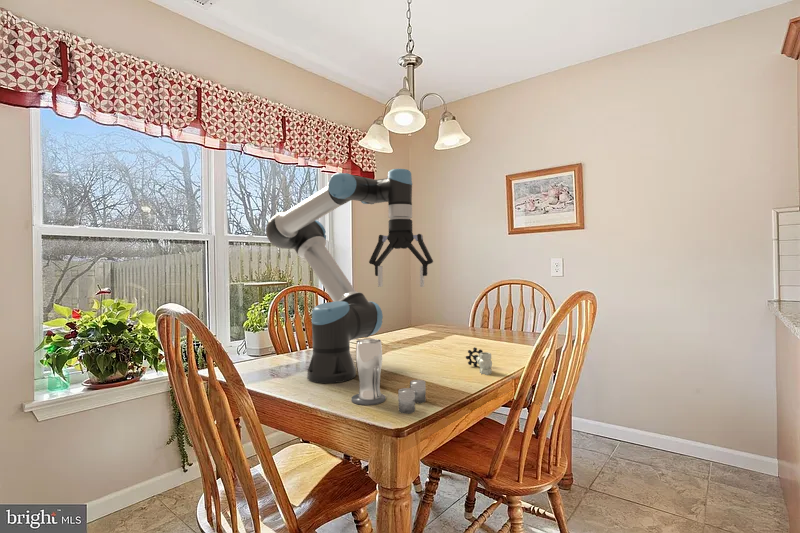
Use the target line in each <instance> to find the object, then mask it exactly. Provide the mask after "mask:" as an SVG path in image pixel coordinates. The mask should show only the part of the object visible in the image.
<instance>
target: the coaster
mask: <svg viewBox="0 0 800 533" xmlns="http://www.w3.org/2000/svg"><path fill="white" fill-rule="evenodd" d="M358 394H359V393H356V394H353V395H352V396H351V399H350V400H351V403H353V404H354V405H355V404H356V405H359V406H374V405H379V404H382V403H384V402H385V401H386V395H385V394H384V393H381V398H380V399H378V400H373V401H364V400H360V399H359V398H358Z"/></svg>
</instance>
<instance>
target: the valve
mask: <svg viewBox="0 0 800 533" xmlns="http://www.w3.org/2000/svg"><path fill="white" fill-rule="evenodd" d="M467 353H468V354H469V355H466V356H465V359H466V360H469V361H468V362H467V364H468V365H469V366H472V364H473V367H474V368H477V367H478V366H479V374H480V373H481V375H482V374H485V375H484V376H489V375H491V374H493V373H492V372H493V371H492V367H493V360H492V353H491V352H487V351H483V349H478V348H477V347H476V346H475V347H473V350H471V349H468V350H467ZM476 353H477V354H476ZM472 359H473V360H472Z"/></svg>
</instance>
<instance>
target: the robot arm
mask: <svg viewBox="0 0 800 533" xmlns="http://www.w3.org/2000/svg"><path fill="white" fill-rule="evenodd" d="M412 180H413V178H412V172H411V170H409V169H405V168H393V169H392V168H391V169H389V171H388V172H387V177H386V178H379V179H373V178H368V177H364V176H359V175H353V174H350V173H349V172H348V173H345V172H336V173H333V174H332V175H331V177H330V179H329V180H328V183H327V186H325V187H323V188H322V189H320V190H318V191H317V192H315V193H314V194H312V195H310V196H309V197H308V198H306V199H303V201H301V202H299V203H298V204H296V205H295V206H293V207H291V208H290V209H288V210H286V211H280V212H278V213H275V215H273V216H272V217H271V218H270V219H269V220H268V222H267V224H266V228H265V233H266V234H265V235H266V237H267V240H268V241H269V242H270V243H271V244H272V245H273V246H275V247H277V248H279V249H286V250H287V249H289V250H290V249H291V250H294V252H296V254H297V256H298V257H299V258H301V259H303V260H306V262H307V264H308V265H309V267H310V268H311V270H313V271H312V272H314V274H315V276H316V277H317V279H318V280H319V282H320V284H321V285H322V286H323V288H324V289H325V291H326V292H327V294H328V296H329V298H330V299H331V300H332V301H330V302H329V301H328V302H324V303H323V302H322V303H319V304H317V305H316V306H314V307H313V309H312V312H311V313H312V315H311V331H312V332H311V335H312V354H311V357H310V358H311V359H310V362H309V365H308V368H307V375H306V376H307V377H306V378H307V380H308V381H310V382H313V383H321V384H329V383H331V384H333V383H335V384H336V383H341V382H342V383H343V382H346V381H350V380H353V379H354V378H355V377H356V373H357V372H356V370H357V369H356V366H355V363H354V361H353V357H352V355H351V351H350V350H351V349H350V341H352V340H358V339H361V338H362V339H363V338H368V337H370V336H372V335H375V334H376V333H378V332H379V330H380V329H381V327H382V325H383V317H384V316H383V310H382V308H381V306H380V305H379V304H378V303H376V302H374V301H371V300H370V301H369V300H368V299H367V297H366V296H365V295H364V293H363V292H361V291H359V292H358V291H356V290H355V288H354V287H353V285H352V284H351V282H350V280H349V279H348V278H347V276H346V275H345V273H344V272H343V271H342V269H341V267H340V266H339V264H338V263H337V262H336V260H335V259H334V257H333V255H332V254H331V253H330V251H329V250H328V248H327V247H326V245H327V235H326V234H327V232H326V229H325V227H324V225H323V224H322V223H321V222H320V221H318V220H320V219H321V218H322V217H324V216H326V215H328V214H329V213H331V212H332V211H335V210H336V209H338V208H340V207H341V206H343V205H346V204H347V203H348V202H350V201H358V202H360V203H362V204H363V205H375V204H380V203H381V204H382V203H388V204H387V207H388V210H387V212H388V219H389V220H388V235H384V234H379V235H378V242H377V244H376V246H375V247H374V250H373V252H372V255H371V256H370V259H369V261H368V263H369V264H370V265H373V266H374V276H375V277H377V287H383V286H384V284H383V281H384V280H383V279H384V277H383V274H384V273H383V269H384V268H383V265H381V264H382V263H383V262H384V260H385V259H386V258H387V257H388V255H389V254H390V253H391V252H392V251H393V250H394V249H395V250H396V249H398V250H399V249H403V250H404V249H406V250H407V249H409V250H410V252H412V254H413V255H414V256H415V258H416V259H417V260H418V261H419V262H420V263H421V264H422V265H419V287H420V288H423V287H425V277H427V276H428V265H431V264H433V263H434V259H433V258H432V256H431V254H430V252H429V250H428V248H427V246H426V244H425V242H424V236H423V234H422V233H418V234H414V233H413V220H412V218H413V202H412V200H413V198H412V197H413V181H412ZM414 239H415V241H416V242H417V243H418V245H419V247H420V249H421V252H422V253H423V255H424V257H425V258H424V257H423V255H422V254H421V253H420V252H419V251H418V249H416V247H415V246H414V245H413V244H412V242H413V241H414ZM386 241H388V242H389V244H388V245H387V246H386V248H385V250H384V251H383V252H382V253H381V250H382V249H383V246H384V243H386ZM380 253H381V255H380V256H379V254H380Z"/></svg>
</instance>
